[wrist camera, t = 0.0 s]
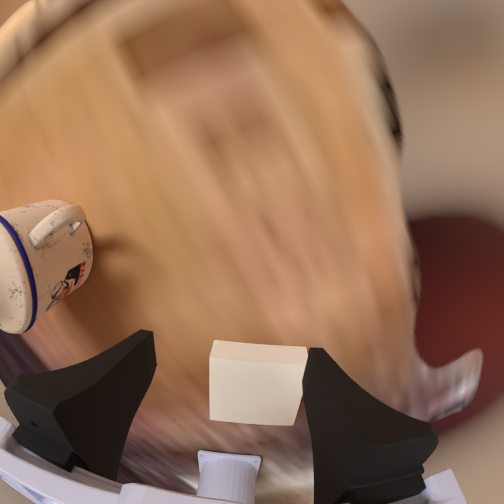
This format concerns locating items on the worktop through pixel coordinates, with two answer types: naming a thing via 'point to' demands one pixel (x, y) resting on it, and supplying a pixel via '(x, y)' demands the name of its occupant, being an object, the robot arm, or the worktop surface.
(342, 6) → the worktop surface
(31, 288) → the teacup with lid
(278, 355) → the ceramic plinth
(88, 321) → the worktop surface
